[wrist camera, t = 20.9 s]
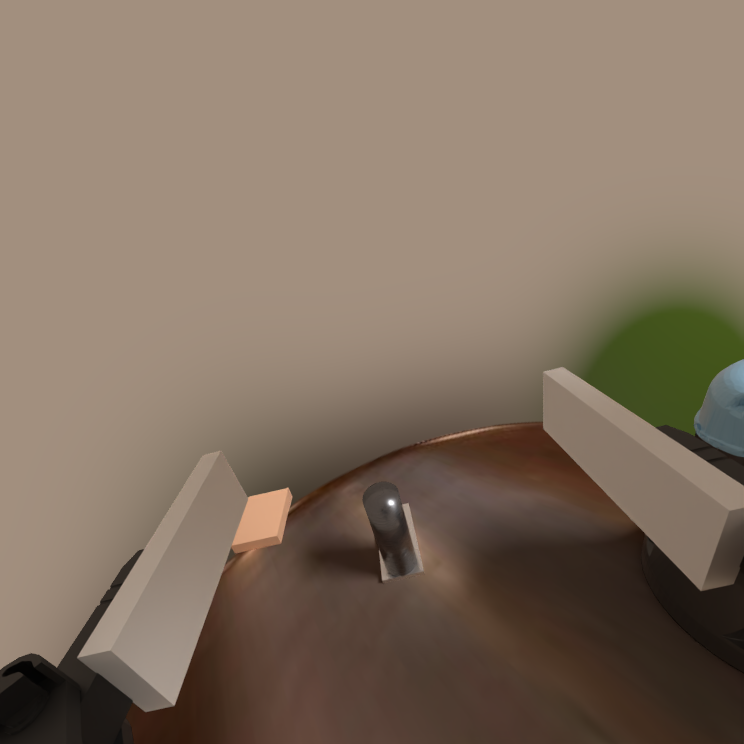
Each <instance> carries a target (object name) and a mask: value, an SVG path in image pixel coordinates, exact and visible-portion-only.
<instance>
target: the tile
mask: <svg viewBox="0 0 744 744" xmlns="http://www.w3.org/2000/svg"><path fill="white" fill-rule="evenodd" d="M291 500H292V495H291V492H290V490H289V488H286V489H282V490H277V491H273V492H269V493H264V494H259V495H255V496H251V497H249V498H248V501H247V504H246V507H245V510H244V512H243V515H242V518H241V521H240V524H239V526H238V529H237V532H236V535H235V538H234V540H233V543H232V546H231V548H232V550H233V551H234V553H235V554H236V553H240V552H244V551H249V550H253V549H258V548H263V547H267V546H272V545H276V544H281V542H282V537H283V533H284V528H285V524H286V519H287V515H288V510H289V508H290V505H291Z"/></svg>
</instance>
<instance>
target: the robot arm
mask: <svg viewBox="0 0 744 744" xmlns="http://www.w3.org/2000/svg"><path fill="white" fill-rule="evenodd" d="M694 427H695V429H696V434H695V436H693V435H691V434H689V433H687V432H684V431H681V430H678V429H676V428H673V427H670V426H667V425H664V426H660V427H656V428H655V427H653V426H652V425H650V424H649V423H647V422H646V421H644V420H643V419H641V418H640V417H638V416H636V415H635V414H633V413H632V412H630V411H629V410H627V409H626V408H624V407H623V406H621V405H620V404H618V403H617V402H615V401H614V400H612V399H611V398H609V397H608V396H606V395H605V394H603V393H601V392H600V391H598V390H597V389H595V388H594V387H592V386H591V385H589V384H588V383H586V382H585V381H583V380H582V379H580V378H578V377H577V376H576V375H574V374H572V373H571V372H569V371H568V370H566V369H565V368H563V367H561V368H557V369H553V370H548V371H545V372H543V429H544V430H545V431H546V432H547V433H548V434H549V435H550V436H551V437H552V438H553V439H554V440H555V441H556V442H557V443H558V444H559V445H560V446H561V447H562V448H563V449H564V450H565V451H566V452H567V453H568V454H569V455H570V456H571V457H572V459H573V460H574V461H575V462H576V463H577V464H578V465H579V466H580V467H581V468H582V469H583V470H584V471H585V472H586V473H587V474H588V475H589V476H590V477H591V478H592V479H593V480H594V481H595V482H596V483H597V484H598V485H599V486H600V487H601V488H602V489H603V491H604V492H605V493H606V494H607V495H608V496H609V497H610V498H611V499H612V500H613V501H614V502H615V503H616V504H617V505H618V506H619V507H620V508H621V509H622V510H623V511H624V512H625V513H626V514H627V515H628V516H629V517H630V518H631V519H632V520H633V521H634V523H635V524H636V525H637V526H638V527H639V528H640V529H641V530H642V531H643V532H644V533H645V536H644V541H643V546H642V551H641V562H642V567H643V571H644V574H645V577H646V579H647V581H648V584H649V586H650V587H651V589H652V591H653V593H654V594H655V596H656V597H657V599H658V600H659V602H660V603H661V604H662V606H663V607H664V608H665V609H666V611H667V612H668V613H669V614H670V615H671V616H672V618H673V619H674V620H675V621H676V622H677V623H678V624H679V625H680V626H681V627H682V628H683V629H684V630H685V631H686V632H688V633H689V634H690V635H691V636H692V637H693V638H694V639H696V640H697V641H698V642H699V643H700V644H702V645H703V646H704V647H705V648H707V649H708V650H709V651H711V652H712V653H714V654H715V655H716V656H718V657H719V658H721V659H722V660H724V661H725V662H727V663H728V664H730V665H731V666H733V667H735V668H736V669H738V670H740V671H741V672H743V673H744V359H743V360H741V361H738V362H736V363H734V364H732V365H730V366H729V367H727V368H725V369H724V370H722V371H721V372H720V373H719V374H718V375H717V376H716V377H715V378H714V379H713V381H712V382H711V384H710V386H709V388H708V391H707V394H706V397H705V400H704V403H703V406H702V408H701V409H700V410H699V412H698V413H697V414H696V416H695V420H694ZM247 501H248V498H247V496H246V494H245V492H244V490H243V488H242V487H241V485H240V483H239V481H238V480H237V478H236V476H235V474H234V473H233V471H232V469H231V467H230V465H229V464H228V462H227V460H226V458H225V457H224V455H223V453H222V451H217V452H213V453H209V454H205V455H203V456H202V457H201V459H200V461H199V462H198V464H197V466H196V467H195V469H194V470H193V472H192V473H191V475H190V477H189V478H188V480H187V482H186V483H185V485H184V486H183V488H182V490H181V491H180V493H179V494H178V496H177V498H176V499H175V501H174V502H173V504H172V506H171V507H170V509H169V511H168V512H167V514H166V515H165V517H164V519H163V520H162V522H161V523H160V525H159V527H158V528H157V530H156V531H155V533H154V535H153V536H152V538H151V539H150V541H149V543H148V544H147V546H146V547H145V549H143V550H139V551H138V552H137V553H136V554H135V555H134V556H133V557H132V558H131V559H130V560H129V561H128V562H127V563H126V564H125V565H124V566H123V568H122V569H121V571H120V572H119V574H118V575H117V577H116V578H115V580H114V581H113V583H112V585H111V588H110V590H108V591H107V592H106V594H105V595H104V597H103V598H102V600H101V601H100V605H99V606H97V607H96V609H95V610H94V612H93V614H92V615H91V617H90V618H89V620H88V621H87V623H86V624H85V626H84V627H83V629H82V631H81V632H80V634H79V635H78V636H77V638H76V639H75V641H74V643H73V644H72V646H71V647H70V649H69V650H68V652H67V653H66V655H65V657H64V658H63V659H62V661H61V662H60V664H59V666H58V667H57V668H56V667H55V666H54V665H52V664H51V663H49V662H48V661H47V660H45V659H44V658H43V657H41V656H40V655H36V654H32V653H31V654H28V655H25V656H22V657H19V658H18V659H16V660H14V661H13V662H11V663H9V664H8V665H6V666H5V667H3V668H2V669H1V670H0V744H134V742H133V735H132V729H131V726H130V724H129V722H128V720H127V719H126V718H125V717H126V715H127V713H128V711H129V708H130V706H131V704H132V702H133V703H135V704H136V705H137V706H138V707H140V708H141V709H142V710H143V711H145V712H148V711H153V710H158V709H162V708H167V707H171V706H175V703H176V700H177V697H178V695H179V692H180V689H181V686H182V683H183V681H184V678H185V675H186V672H187V669H188V666H189V664H190V661H191V658H192V655H193V652H194V650H195V647H196V644H197V641H198V638H199V636H200V633H201V630H202V627H203V624H204V622H205V619H206V616H207V613H208V610H209V608H210V605H211V602H212V599H213V596H214V594H215V591H216V588H217V585H218V582H219V580H220V577H221V574H222V571H223V568H224V566H225V563H226V560H227V557H228V554H229V552H230V549H231V546H232V543H233V540H234V538H235V535H236V532H237V529H238V526H239V524H240V521H241V518H242V515H243V512H244V510H245V507H246V504H247Z"/></svg>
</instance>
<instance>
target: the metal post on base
mask: <svg viewBox="0 0 744 744" xmlns="http://www.w3.org/2000/svg"><path fill="white" fill-rule="evenodd" d="M363 504H364V507H365V510H366V513H367V516H368V519H369V521H370V524H371V527H372V530H373V533H374V536H375V539H376V542H377V544H378V547H379V554H380V564H381V574H382V582H383V584H384V583H388V582H393V581H397V580H401V579H406V578H410V577H415V576H419V575H423V574H424V569H423V565H422V560H421V556H420V552H419V547H418V543H417V538H416V534H415V529H414V525H413V521H412V516H411V512H410V507H409V503H407V504H403V505H402V503H401V499H400V495H399V492H398V489H397V487H396V486H395V485H394V484H392V483H389V482H378V483H375V484H373V485H371V486H370V487H369V488H368V489H367V490H366V491H365V492H364V495H363Z"/></svg>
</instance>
